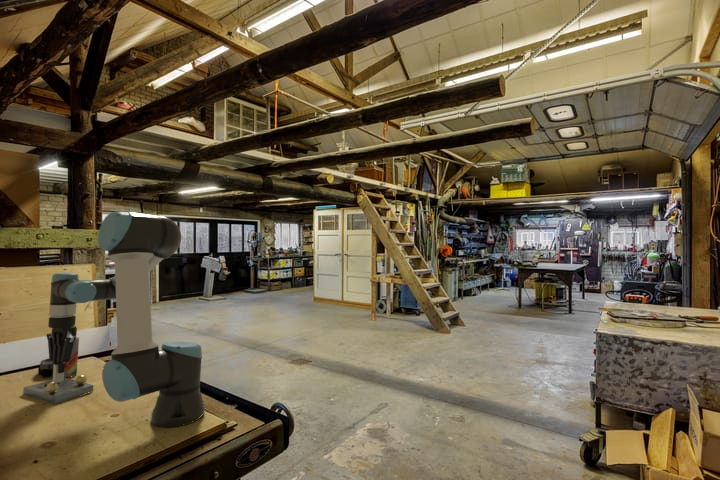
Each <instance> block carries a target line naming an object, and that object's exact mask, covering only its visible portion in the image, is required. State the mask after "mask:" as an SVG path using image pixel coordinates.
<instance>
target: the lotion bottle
mask: <svg viewBox="0 0 720 480" xmlns="http://www.w3.org/2000/svg"><path fill="white" fill-rule="evenodd" d="M77 330H78V327H77V325H74V326H72V327H71V331H72V333H71V335H72V336H76V340H75V341H74V344H73V349H72V353H71V358H70V361H69V362H66V363H65V369H64V378H66V377H70V378H72V377H71V376H73V377H75V376H74V375H76V376H77V373H78V364H79V363H78V361H79V360H78V359H79V346H80V337H78V336H77V332H78V331H77Z"/></svg>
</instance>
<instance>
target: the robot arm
mask: <svg viewBox="0 0 720 480" xmlns="http://www.w3.org/2000/svg"><path fill="white" fill-rule="evenodd" d="M97 242H98V245H99V248H100V249H101V250H103V251H107V254H108V255H107V258H108V259H109V260H110V261H112V262H113V263H114V276H113V277H112V278H110V279H109V278H107V279H105V278H104V279H86V280H85V279H81V280H80V278H79V274H78V273H76V272H75V273H74V272H57V273H56V272H55V273H54V274H52V276H51V282H50V300H49V311H48V312H49V313H48V316H49V317H48V326H47V327H48V328H50V329H51V332H50V333H46V338H47V345H48V347H47V349H48V359H49V360H50V361H52V363H53V364H54V366H53V377H52V380H53V381H52V383H57V382H61V381H64V369H65V363H66V362H69V361H70V358H71V353H72V349H73V344H74V341H75V340H76V337H77V335H76V336H72V335H71V333H72V331H71V327H72V326H76V319H77V318H76V315H75V314H77V307H78V306H77V304H87V303H88V302H93V301H106V300H115V305H116V306H115V308H116V311H115V312H116V332H117V333H116V337H117V338H116V339H117V346H116V347H115V349H113V351H112V352H111V353H110V354H111V359H110V360H108V361H107V362H105V363H104V365H103V367H102V368H103V369H102V373H101V376H102V377H101V378H102V383H103V387H104V389H105V392H106V394H108V396H109V397H110V398H111V399H112V400H113V401H115V402H119V403H120V402H121V403H122V402H126V401H130V400H135V399H136V400H137V399H138V398H141V397H144V396H146V395H149V394H154V393H156V392H158V396H157V399H156V401H155V405H154V408H153V409H152V411H151V418H150V422H151V423H152V424H153V425H154V426H157V427H161V428H175V426H176V427H181V426H180V425H182V426H184V425H183V424H186V425H188V424H187V423H189V424H191V423H190V422H192V421H194V422H196V421H197V420H196V419H198V418H199V417H200V416H201V415H202V414H203V413H204V414H205V407H206V406H205V403H204V402H203V401H204V400H203V395H202V392H201V371H202V359H203V357H202V356H203V355H202V346H201V345H200V344H198V343H197V342H195V343H194V342H191V341H167V342H164V343H162V344H161V346H160V347H161V349H159V344H158V343H156V342H155V341H154V340H153V329H152V327H153V325H152V307H151V288H150V287H151V286H150V272H151V271H152V270H153V269H154V268H156V267H157V266H158V265H159V264H160V262H161V263H162V261H163V260H165V259H168V258H170V257H172V256H173V255H174V254H175V253H176V252H177V250H178V249H179V247H180V245H181V243H182V232H181V230H180V228H179V225H178V224H177V223H176V222H175V221H174V220H172V219H171V218H169V217H166V216H164V215H155V214H148V213H147V214H146V213H139V212H131V211H112V212H110V213H108V214H107V215H106V216H105V217H104V219H103V221H102V222H101V224H100V227H99V230H98V237H97ZM195 420H196V421H195ZM198 420H199V419H198ZM192 423H193V422H192Z"/></svg>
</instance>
